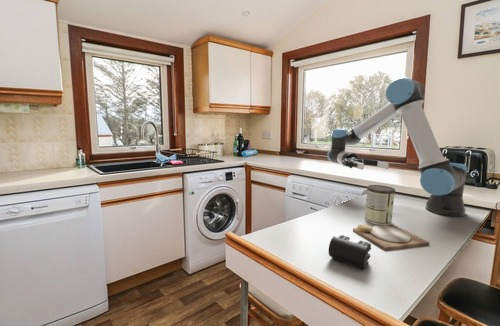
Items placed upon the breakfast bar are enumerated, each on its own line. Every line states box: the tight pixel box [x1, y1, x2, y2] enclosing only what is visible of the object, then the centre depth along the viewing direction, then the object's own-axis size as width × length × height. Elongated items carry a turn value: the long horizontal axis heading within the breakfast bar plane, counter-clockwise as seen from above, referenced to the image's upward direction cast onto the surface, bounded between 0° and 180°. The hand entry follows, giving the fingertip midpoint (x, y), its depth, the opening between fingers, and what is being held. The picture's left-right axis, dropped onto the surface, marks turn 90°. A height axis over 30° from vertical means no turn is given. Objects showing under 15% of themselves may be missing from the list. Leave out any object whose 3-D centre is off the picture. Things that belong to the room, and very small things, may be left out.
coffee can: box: [364, 184, 396, 226], centre depth 112 cm, size 10×10×14 cm
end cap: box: [328, 234, 372, 270], centre depth 78 cm, size 10×7×7 cm
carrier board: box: [352, 224, 430, 251], centre depth 96 cm, size 18×16×2 cm
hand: (375, 166), depth 124 cm, fingers open, 13 cm apart
